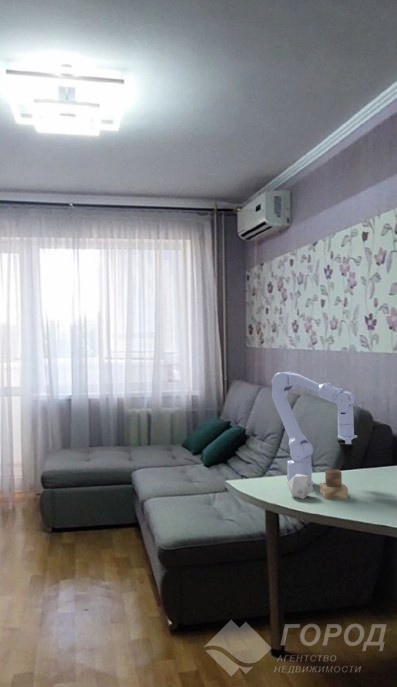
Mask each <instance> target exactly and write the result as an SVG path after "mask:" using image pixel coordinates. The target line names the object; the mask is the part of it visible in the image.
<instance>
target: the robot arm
mask: <svg viewBox="0 0 397 687" xmlns="http://www.w3.org/2000/svg"><path fill="white" fill-rule="evenodd" d="M295 386H300V387H302V388H305V389H308V390H311V391H313V392H316V393H317V394H318V396H319V398H322V399H323V400H325V401H326V400H327V401H328V402H331V403H333V404H335V406H337V438H338V439H337V443H338V444H339V448H340V453H341V458H342V459H343V461H344V463H348V464H349V463H350V464H351V463H352V459H353V454H354V453H353V452H354V450H355V448H356V446H357V445H356V443H353V439H357V438H358V435H355V429H354V424H355V421H354V405H353V404H354V403H355V401H356V398H355V395H354V393H353V392H351V391H349V390H344V389H343V388H338V387H336V386H334V385H332V383H330V382H324V383H318V382H317V381H314V380H312V379H309V378H308V377H305V376H303V375H302V374H299V373H296V372H293V371H289V370H288V371H283V372H282V371H279V372H277V373H275V374H274V375H273V376H272V379H271V398H272V401H273V403H274V405H275V409H276V410H277V412H278V415H279V417H280V420H281V422H282V424H283V428H284V429H285V431H286V435H287V436H288V440H289V441H288V447H289V455H290V457H291V458H292V459H291V460H287V474H286V480H287V482H288V481H290V480H291V479H292V478H293V477H294V476H295V475H296V474H301V475H306V476H309V479H310V481H311V484H312V486H314V484H315V483H314V481H313V478H312V475H313V474H312V472H313V471H312V467H313V466H312V455H313V454H314V446H313V444H311V442H309V440H308V439H307V438H308V437H307V436H305V435H304V433H302V431H301V428H300V425H299V423H298V421H297V419H296V417H295V414H294V412H293V410H292V407H291V404H290V403H289V400H288V398H287V397H288V394H289V392H290V390H291V389H292V388H293V387H295Z"/></svg>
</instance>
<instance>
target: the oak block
mask: <svg viewBox="0 0 397 687" xmlns="http://www.w3.org/2000/svg"><path fill="white" fill-rule="evenodd" d="M348 490H349V488H348V486H347V485H345V484H344V483H343V482H342V487H327V485H326V482H319V494H320V495H321V496H322V497H323V498H324V499H325V500H328V499H330V500H331V499H333V500H335V499H348V498H349V492H348Z"/></svg>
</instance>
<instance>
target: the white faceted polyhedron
mask: <svg viewBox="0 0 397 687" xmlns="http://www.w3.org/2000/svg"><path fill="white" fill-rule="evenodd" d="M286 483H287V487H288V489H289V492H290V494H291V497H293V498H297V499H301V500H304V499H305V498H307V497H308V496H309V494H311V493H312V492H313V491H314V487H313V486H314V485H312V484H311V481H310V479H309V476H306V475H301V474H296V475H295V476H294V477H293V478H292V479H291V480H290V481H288V480H287V482H286Z"/></svg>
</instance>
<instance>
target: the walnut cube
mask: <svg viewBox="0 0 397 687" xmlns="http://www.w3.org/2000/svg"><path fill="white" fill-rule="evenodd" d="M324 471H325V474H324V475H325V477H324V478H325V483H326V485H327V487H342V483H343V482H342V471H341V469H328V468H327V469H325V470H324Z"/></svg>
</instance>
